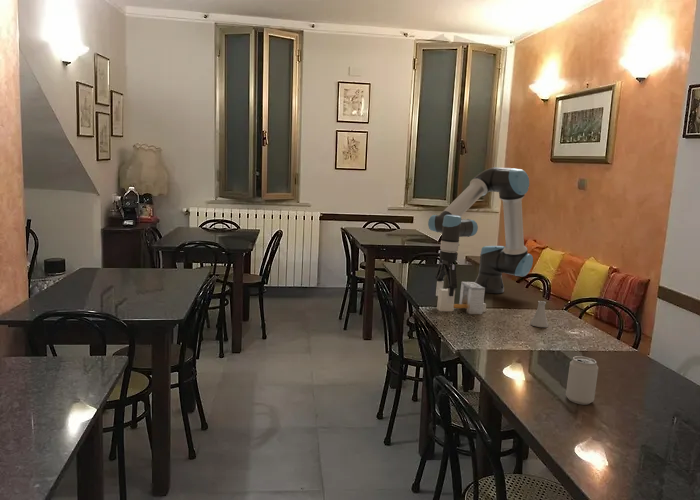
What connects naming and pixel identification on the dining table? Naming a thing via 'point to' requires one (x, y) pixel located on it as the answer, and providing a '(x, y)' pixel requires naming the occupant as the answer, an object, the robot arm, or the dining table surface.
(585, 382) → the can
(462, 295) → the housing
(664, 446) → the dining table surface
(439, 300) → the white and wooden mallet
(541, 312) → the flask
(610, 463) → the dining table surface
